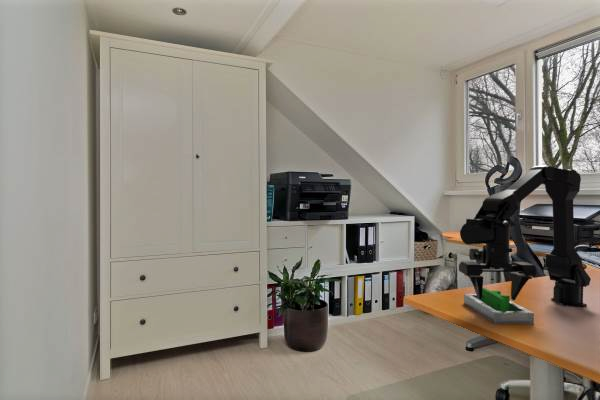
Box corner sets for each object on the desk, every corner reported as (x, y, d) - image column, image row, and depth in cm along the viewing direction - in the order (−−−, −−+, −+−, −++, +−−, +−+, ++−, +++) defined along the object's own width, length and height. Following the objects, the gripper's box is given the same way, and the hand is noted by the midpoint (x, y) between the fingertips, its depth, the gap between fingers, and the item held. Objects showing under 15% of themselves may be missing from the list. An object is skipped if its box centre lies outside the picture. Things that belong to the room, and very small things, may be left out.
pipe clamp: (515, 316, 96) (516, 299, 96) (501, 316, 96) (502, 299, 96) (493, 303, 107) (493, 287, 107) (480, 303, 107) (480, 287, 107)
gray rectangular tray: (497, 303, 110) (497, 293, 109) (533, 324, 93) (534, 313, 92) (463, 303, 110) (464, 293, 109) (493, 323, 93) (494, 312, 92)
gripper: (514, 239, 109) (513, 291, 109) (451, 238, 109) (450, 291, 109) (538, 244, 97) (537, 303, 98) (468, 244, 97) (467, 303, 98)
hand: (496, 299), depth 101 cm, fingers open, 9 cm apart
